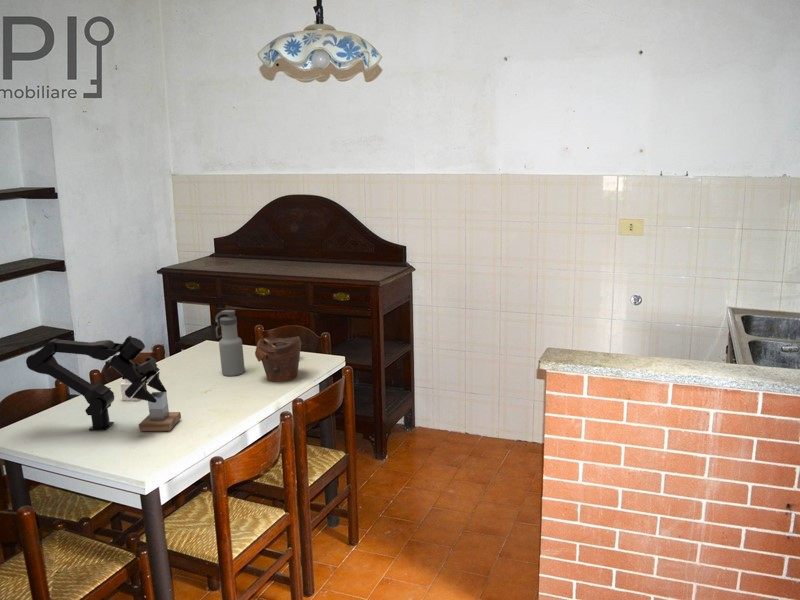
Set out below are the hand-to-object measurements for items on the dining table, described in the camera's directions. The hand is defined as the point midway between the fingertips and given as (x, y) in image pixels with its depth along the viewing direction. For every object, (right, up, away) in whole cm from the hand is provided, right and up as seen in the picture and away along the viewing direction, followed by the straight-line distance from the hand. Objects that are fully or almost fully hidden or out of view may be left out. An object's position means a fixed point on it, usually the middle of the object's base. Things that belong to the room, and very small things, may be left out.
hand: (161, 397), depth 253 cm
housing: (-1, -8, +2) cm, 8 cm away
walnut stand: (-1, -11, +3) cm, 11 cm away
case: (+35, +2, +49) cm, 60 cm away
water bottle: (+12, +3, +57) cm, 59 cm away
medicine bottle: (-21, -5, +32) cm, 39 cm away
